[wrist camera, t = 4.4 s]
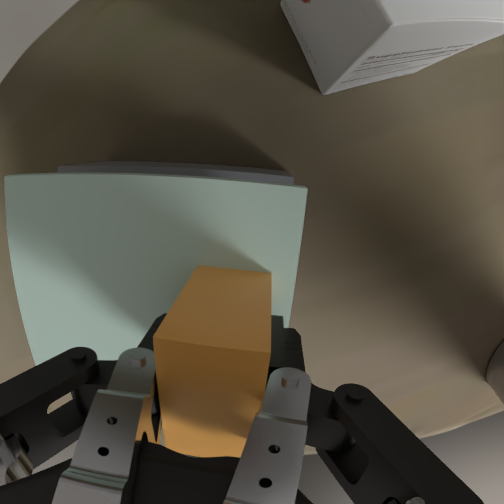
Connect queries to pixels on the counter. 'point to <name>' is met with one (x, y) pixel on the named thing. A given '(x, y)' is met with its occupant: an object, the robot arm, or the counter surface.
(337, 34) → the supplement box
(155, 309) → the lid
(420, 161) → the counter surface
